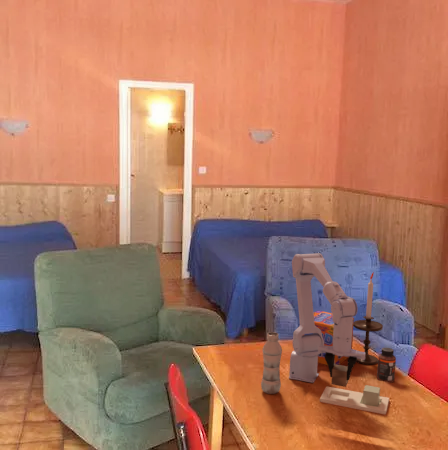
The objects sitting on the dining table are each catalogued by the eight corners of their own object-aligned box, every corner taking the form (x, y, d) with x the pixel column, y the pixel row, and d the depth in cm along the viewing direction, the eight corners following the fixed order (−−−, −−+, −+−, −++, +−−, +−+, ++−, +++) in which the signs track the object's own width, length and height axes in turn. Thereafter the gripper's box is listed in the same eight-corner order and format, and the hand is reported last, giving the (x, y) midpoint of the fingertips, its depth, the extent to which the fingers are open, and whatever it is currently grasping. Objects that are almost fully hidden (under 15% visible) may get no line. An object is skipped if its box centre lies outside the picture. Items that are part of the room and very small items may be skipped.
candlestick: (379, 356, 218) (385, 269, 213) (381, 367, 207) (387, 275, 203) (351, 353, 220) (356, 267, 215) (351, 364, 209) (357, 273, 205)
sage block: (362, 405, 172) (363, 390, 171) (364, 399, 176) (365, 384, 175) (377, 408, 170) (378, 393, 170) (379, 402, 174) (380, 387, 174)
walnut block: (331, 384, 175) (332, 369, 174) (334, 379, 179) (334, 364, 179) (345, 386, 174) (346, 371, 173) (348, 381, 178) (349, 366, 177)
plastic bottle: (283, 390, 185) (285, 332, 182) (276, 398, 179) (279, 338, 176) (265, 386, 188) (267, 329, 185) (257, 394, 182) (260, 335, 179)
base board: (319, 406, 174) (320, 398, 174) (326, 393, 183) (326, 386, 183) (385, 419, 167) (385, 411, 167) (388, 405, 176) (389, 397, 176)
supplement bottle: (395, 384, 192) (397, 353, 191) (377, 382, 193) (379, 351, 192) (393, 377, 198) (395, 347, 196) (376, 375, 199) (378, 345, 198)
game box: (315, 346, 227) (317, 310, 225) (352, 355, 218) (354, 317, 216) (298, 358, 214) (300, 319, 212) (336, 367, 206) (338, 327, 204)
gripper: (316, 336, 173) (314, 378, 175) (364, 343, 168) (361, 386, 170) (321, 330, 179) (319, 370, 181) (367, 336, 174) (364, 378, 176)
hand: (339, 377), depth 176 cm, fingers closed on walnut block, 4 cm apart
